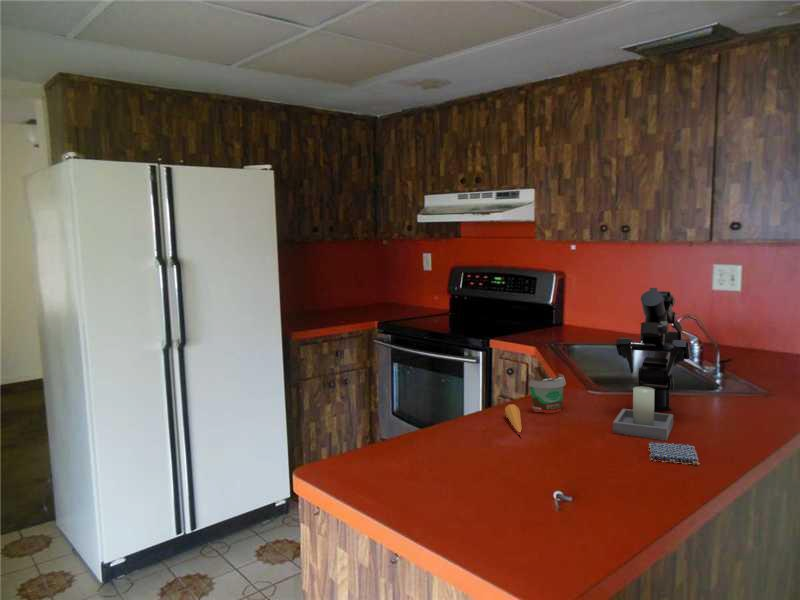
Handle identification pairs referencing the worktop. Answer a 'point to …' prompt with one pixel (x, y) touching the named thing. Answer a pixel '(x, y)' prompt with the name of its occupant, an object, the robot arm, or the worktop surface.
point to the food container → (547, 393)
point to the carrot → (514, 416)
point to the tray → (658, 431)
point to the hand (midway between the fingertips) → (649, 373)
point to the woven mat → (673, 453)
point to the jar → (643, 406)
